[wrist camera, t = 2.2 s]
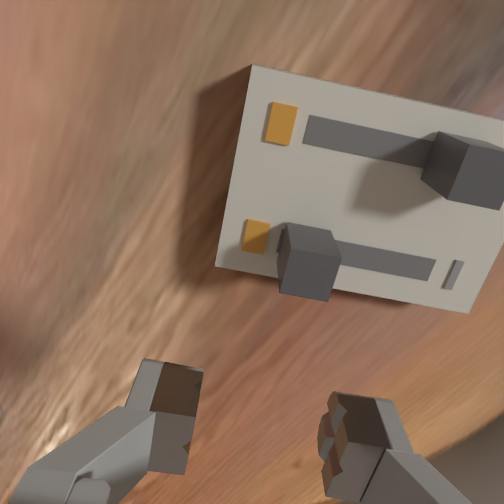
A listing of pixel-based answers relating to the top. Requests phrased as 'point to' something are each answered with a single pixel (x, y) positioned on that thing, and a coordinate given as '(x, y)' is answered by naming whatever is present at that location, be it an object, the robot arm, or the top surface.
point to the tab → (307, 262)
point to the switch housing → (357, 189)
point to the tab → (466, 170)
